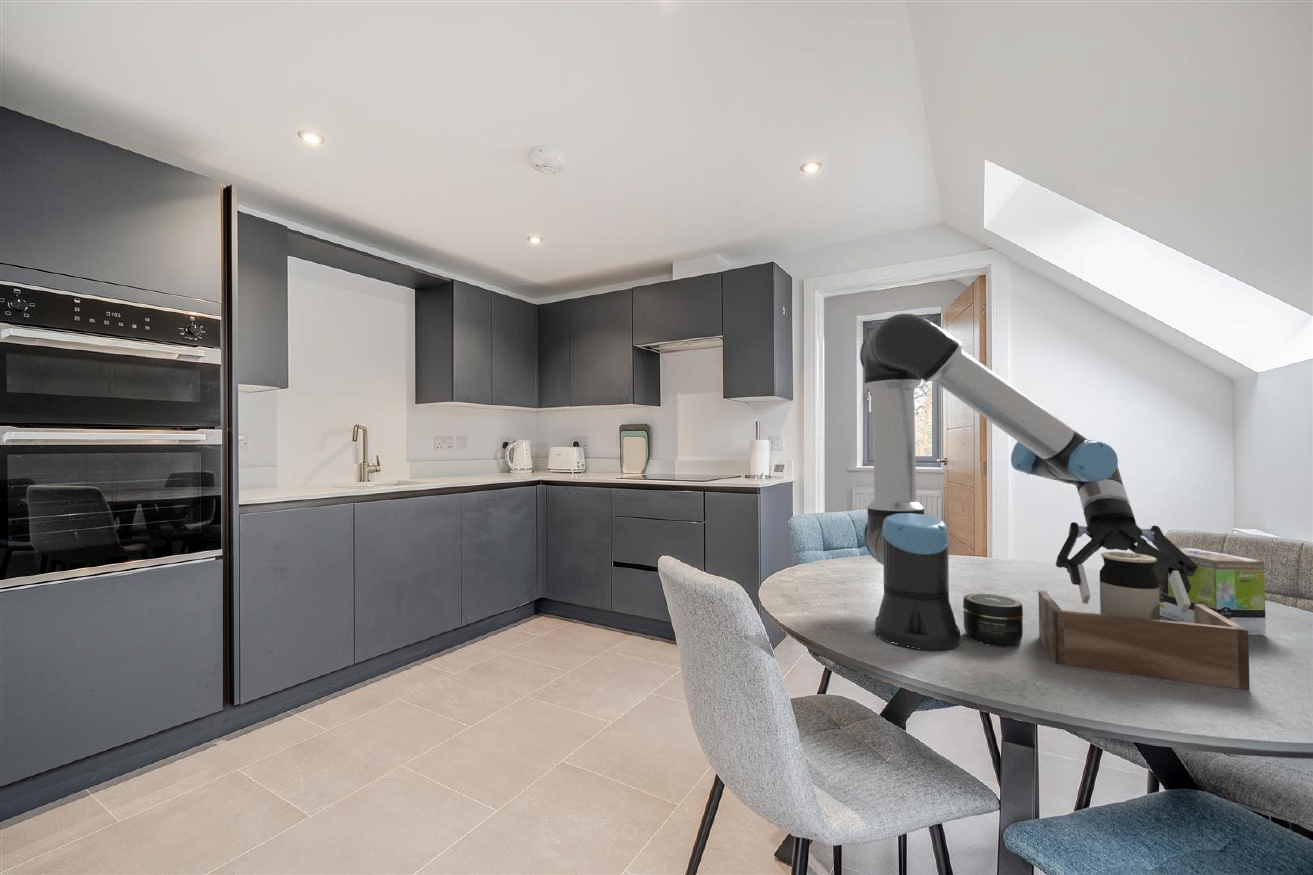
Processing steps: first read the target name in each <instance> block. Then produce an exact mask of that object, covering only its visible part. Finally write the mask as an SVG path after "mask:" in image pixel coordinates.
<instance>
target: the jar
mask: <svg viewBox="0 0 1313 875" xmlns="http://www.w3.org/2000/svg"><path fill="white" fill-rule="evenodd" d="M962 602H963V603H962V609H963V628H964V631H965V635H966V636H967V637H968V638H969V639H970V638H971V639H970V640H972V639H973V640H972V641H974V640H975V641H974V642H976V641H977V642H976V643H979V642H982V643H984V645H986V644H989V645H988V646H992V645H993V647H1000V646H1006V647H1007V646H1011V647H1015V646H1018V645H1019V644H1020V643H1021V642H1022V638H1023V631H1024V630H1023V625H1024V624H1023V617H1024V610H1023V604H1022V602H1021V601H1019V600H1017V599H1015V598H1012V597H1009V596H1005V595H998V594H991V593H970V594H967V595H966V594H965V595H964V597H963V600H962ZM982 643H981V644H982Z"/></svg>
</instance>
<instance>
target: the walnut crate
mask: <svg viewBox="0 0 1313 875" xmlns="http://www.w3.org/2000/svg"><path fill="white" fill-rule="evenodd" d="M1037 591H1038V631H1039V632H1038V634H1039V635H1038V636H1039V639H1040V641H1041V642H1042V644H1043V645H1044V647H1045V649H1046V650H1047V652H1048V653H1049V655H1050V657H1051V658H1052V660H1053V662H1054V663H1055V665H1058V666H1065V667H1066V666H1067V667H1073V668H1079V669H1080V668H1081V669H1088V670H1089V669H1090V670H1097V671H1103V672H1104V671H1105V672H1113V673H1119V674H1126V675H1133V676H1134V675H1136V676H1143V677H1150V678H1156V679H1157V678H1159V679H1163V680H1164V679H1165V680H1174V681H1180V682H1187V683H1196V684H1202V685H1203V684H1204V685H1211V686H1218V687H1224V688H1225V687H1226V688H1232V689H1233V688H1234V689H1240V690H1241V689H1242V690H1249V691H1250V690H1251V689H1250V687H1251V686H1250V685H1251V684H1250V656H1249V655H1250V652H1249V651H1250V648H1249V635H1248V630H1247V629H1245V628H1243V627H1241V626H1239V625H1238V624H1236V623H1234V622H1232V621H1231V620H1229V619H1227V618H1225V617H1224V616H1222V615H1220V614H1218V613H1217V612H1215V611H1213V610H1211V609H1210V608H1208V607H1206V606H1204V605H1200V604H1194V621H1195V623H1186V622H1178V621H1175V620H1166V619H1165V620H1164V619H1160V620H1156V619H1145V618H1135V617H1125V616H1114V615H1104V614H1100V613H1095V612H1094V613H1092V612H1083V611H1081V612H1080V611H1074V610H1073V611H1071V610H1062V609H1061V607H1060V606H1059V605H1058V604H1057V603H1056V602H1055V600H1054V599H1053V598H1052V597H1051V596H1050V594H1049V592H1047V591H1046V590H1045V591H1044V590H1037Z"/></svg>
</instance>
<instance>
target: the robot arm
mask: <svg viewBox="0 0 1313 875" xmlns="http://www.w3.org/2000/svg"><path fill="white" fill-rule="evenodd" d="M859 360H860V361H859V362H860V364H861V366H862V368H863V370H864V371H863V372H864V387H866V388H867V389H868V390H869V391H870V392H871V397H872V398H871V399H872V404H871V405H872V406H871V407H872V438H873V439H872V441H873V442H872V444H873V445H872V447H873V451H872V452H873V487H874V488H873V490H874V491H873V494H874V495H873V496H874V498H873V500H872V501H871V502H870V503H869V504H868V505H867V508H866V509H867V512H866V513H867V521H866V524H865V527H864V530H863V542H864V546H865V548H866V549H867V551H868V553H869V555H870V556H871V557H872V558H873V559H874V560H875V561H876V562H878V563H879V564H881V565H882V566H883V568H882V569H883V597H882V599H881V603H880V606H879V610H878V615H877V616H876V618H875V620H874V633H875V632H876V633H877V635H878V636H880V637H881V638H883V639H885V640H887V641H889V642H888V643H890V642H894V643H897V644H899V645H903V646H902V647H904V646H909V647H914V648H913V649H915V648H920V649H919V650H924V649H929V651H941V650H942V651H943V650H950V649H953V648H956V647H958V646H960V643H961V632H960V628H959V626H958V625H957V623H956V619H955V616H954V615H955V614H954V612H953V608H952V606H951V602H950V592H949V591H950V588H949V587H950V586H949V585H950V580H949V579H950V576H949V575H950V574H949V573H950V572H949V569H950V568H949V564H950V563H949V560H950V559H949V558H950V557H949V545H950V536H949V535H948V526H947V525H946V523H945V522H944V521H943V520H941V518H938V517H935V516H931V515H929V516H928V515H926V514H925V507H924V505H922V504H921V503H920V502H919V500H918V499H917V469H916V468H917V467H916V465H917V464H916V461H917V459H916V428H915V427H916V426H915V424H916V423H915V422H916V421H915V420H916V419H915V418H916V417H915V390H916V389H917V387H919V386H920V385H921V383H922V381H924V382H935V383H936V384H938V385H939V386H940V387H941V388H943V389H945V390H946V391H947V392H948V393H950V394H952V396H955V397H956V398H957V400H960V401H962V402H963V403H964V404H965V405H967V406H968V407H970V408H971V409H972V410H974V411H975V412H977V413H978V414H979V415H981V416H982V417H983V418H985V419H986V420H987V421H989V422H990V423H992V424H993V425H994V426H995V427H997V428H999V429H1001V431H1003V432H1004V433H1005V434H1007V435H1008V436H1010V437H1011V438H1013V439H1014V441H1015V440H1016V441H1017V442H1016V443H1015V445H1014V447H1013V449H1012V452H1011V455H1010V463H1011V466H1012V468H1013V470H1015V471H1018V472H1021V473H1024V474H1027V475H1032V476H1036V477H1041V478H1044V479H1048V480H1053V481H1058V482H1061V483H1066V484H1070V485H1073V486H1075V487H1076V490H1077V493H1078V496H1079V500H1080V503H1081V508H1082V510H1083V516H1084V519H1085V524H1086V526H1084V525H1079V524H1078V523H1077V522H1074V521H1073V522H1071V523H1070V526H1069V529H1068V536H1067V538H1066V540H1065V542H1064V544H1063V546H1062V547H1061V550H1060V551H1059V553H1058V555H1057V557H1056V562H1055V566H1056V567H1057V568H1059V569H1060V568H1065V569H1066V571H1067V573H1069V577H1070V582H1071V584H1072V585H1074V586H1075V585H1077V586H1078V588H1079V593H1080V598H1081V602H1082V604H1089V601H1090V598H1091V592H1090V587H1089V583H1088V580H1087V575H1086V571H1085V567H1084V563H1085V562H1086V561H1087V560H1089V558H1091V556H1092V555H1093V554H1095V553H1097V551H1099V550H1100V549H1101V548H1103V549H1104V548H1105V549H1106V550H1111V551H1113V550H1118V551H1128V550H1130V551H1131V552H1132V553H1135V554H1142V555H1148V556H1152V557H1154V558H1156V559H1157V561H1156V562H1155V563H1154V564H1155V565H1157V566H1158V567H1160V568H1161V569H1163V570H1164V571H1166V572H1167V573H1169V574H1170V575H1171V576H1170V578H1169V581H1170V584H1171V587H1172V590H1173V592H1174V595H1175V598H1176V601H1177V604H1178V607H1179V609H1180V612H1187V610H1188V608H1189V607H1190V605H1191V603H1190V600H1189V598H1188V595H1187V594H1188V593H1189V591H1190V589H1191V585H1190V583H1189V580H1188V577H1187V576H1190V577H1192V576H1194V574H1195V572H1196V570H1197V568H1198V566H1197V565H1196V564H1195V563H1194V562H1193V561H1192V560H1191V559H1190V558H1188V557H1187V556H1186V555H1185V554H1184V553H1183V552H1182V551H1181V550H1180V549H1178V547H1177V546H1176V545H1175V544H1174V543H1173V542H1172V541H1171V540H1170V539H1169V538H1167V537H1166V536H1165V535H1164V533H1163V531H1162V530H1161V527H1159V526H1158V525H1152V526H1151V528H1141V527H1139V526H1138V525H1137V522H1136V518H1135V515H1134V512H1133V509H1132V506H1131V505H1130V500H1129V497H1128V494H1127V492H1126V488H1125V485H1124V483H1123V480H1122V475H1121V473H1120V469H1119V466H1118V465H1119V460H1118V459H1119V458H1118V455H1117V453H1116V451H1115V450H1114V448H1113V447H1112V446H1110V445H1109V444H1107V443H1106V442H1102V441H1097V440H1093V439H1091V440H1090V439H1088V438H1086V437H1085V436H1083V435H1082V434H1080V432H1078V431H1076V430H1074V429H1073V428H1071V427H1070V426H1068V425H1067V424H1066V423H1064V422H1063V421H1062V420H1060V419H1059V418H1057V417H1056V416H1055V415H1053V414H1052V413H1050V412H1049V411H1048V410H1046V409H1045V408H1043V407H1042V406H1040V405H1039V404H1038V403H1037V402H1035V401H1034V400H1032V399H1031V398H1030V397H1028V396H1026V395H1025V394H1024V393H1023V392H1021V391H1019V390H1018V389H1017V388H1015V386H1013V385H1012V384H1010V383H1009V382H1007V381H1006V380H1005V379H1003V378H1002V377H1000V376H999V375H997V374H996V373H995V372H993V371H992V370H990V369H989V368H988V367H986V366H985V365H983V364H982V363H980V362H979V361H977V359H975V358H973V357H972V356H971V355H969V354H968V353H967V352H965V351H964V350H963V348H962V342H961V341H960V340H959V339H957V338H956V337H954V336H953V335H951V334H950V333H948V332H947V331H945V330H944V329H943V328H941V327H939V326H938V325H937V324H935V323H934V322H932V321H930V320H928V319H926V318H925V317H922V316H921V315H920V316H919V315H917V314H912V313H898V314H895V315H892V316H889V317H888V318H886V319H885V320H884V321H882V322H881V324H879V325H878V326H876V328H874V329H873V330H871V331H870V332H869V333H868V335H867V336H866V337H865V338H864V340H863V343H861V347H860V350H859ZM1085 534H1086V535H1087V537H1089V538H1090V540H1089V541H1088V543H1087V544H1085V545H1084V546H1083V547H1082V548H1081V549H1079V551H1078V552H1077V553H1075V554H1074V556H1072V557H1071V558H1069V556H1070V554H1071V553H1072V550H1073V548H1074V546H1075V544H1076V543H1077V539H1079V538H1081V537H1082V536H1083V535H1085ZM1143 537H1144V538H1143ZM1146 539H1147V540H1146ZM1147 541H1148V542H1147ZM1149 542H1151V543H1152V545H1151V544H1149ZM1154 546H1155V547H1154ZM1156 548H1157V549H1159V550H1160V551H1161V552H1160V551H1159V550H1157V549H1156ZM877 635H876V636H877ZM878 636H877V637H878ZM881 638H880V639H881ZM883 639H882V640H883ZM885 640H884V641H885ZM887 641H886V642H887ZM899 645H898V646H899ZM909 647H908V648H909Z"/></svg>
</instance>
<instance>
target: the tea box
mask: <svg viewBox="0 0 1313 875" xmlns="http://www.w3.org/2000/svg"><path fill="white" fill-rule="evenodd" d="M1155 548H1156V547H1155ZM1177 548H1178V547H1177ZM1156 549H1157V548H1156ZM1178 549H1180V550H1181V551H1182V552H1183V553H1184V554H1185V555H1186V556H1187V557H1188V558H1190V559H1191V560H1192V561H1193V562H1194V563H1195V564H1196V565H1197V566H1198V568H1197V570H1196V572H1195V574H1194V576H1192V577H1190V576H1187V577H1188V580H1189V583H1190V585H1191V589H1190V591H1189V593H1188V594H1187V595H1188V598H1189V600H1190V603H1191V605H1190V607H1189V608H1188V610H1187V612H1180V609H1179V607H1178V604H1177V601H1176V598H1175V595H1174V592H1173V590H1172V587H1171V584H1170V581H1169V578H1170V576H1171V575H1170V574H1169V573H1167V572H1166V571H1164V570H1163V569H1161V568H1160V567H1158V566H1157V565H1155V564H1154V568H1153V570H1154V571H1155V573H1156V574H1157V576H1158V577H1159V603H1160V617H1164V618H1167V619H1169V620H1171V621H1176V622H1186V623H1195V621H1194V604H1200V605H1204V606H1206V607H1208V608H1210V609H1211V610H1213V611H1215V612H1217V613H1218V614H1220V615H1222V616H1224V617H1225V618H1227V619H1229V620H1231V621H1232V622H1234V623H1236V624H1238V625H1239V626H1241V627H1243V628H1245V629H1247V630H1248V636H1265V635H1266V624H1267V623H1266V619H1267V618H1266V591H1265V588H1266V586H1265V585H1266V584H1265V562H1264V560H1261V559H1256V558H1248V557H1244V556H1239V555H1237V556H1236V555H1233V554H1228V553H1227V554H1226V553H1221V552H1216V551H1210V550H1204V549H1198V548H1188V547H1186V548H1185V547H1184V548H1178ZM1157 550H1159V549H1157ZM1159 551H1160V550H1159ZM1160 552H1161V551H1160Z"/></svg>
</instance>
